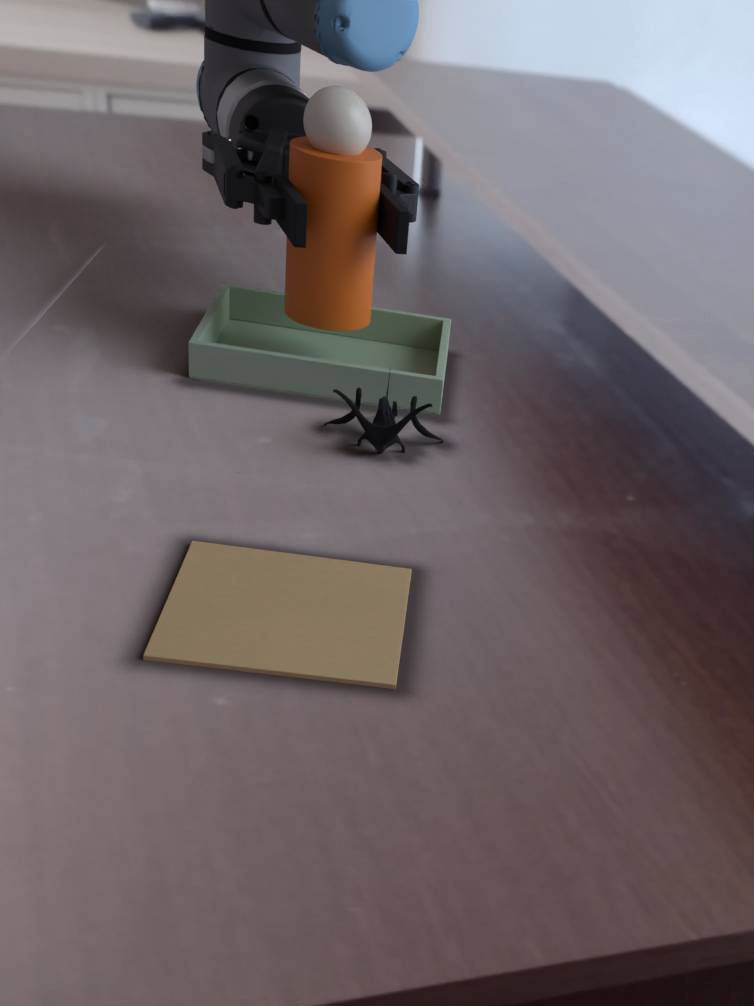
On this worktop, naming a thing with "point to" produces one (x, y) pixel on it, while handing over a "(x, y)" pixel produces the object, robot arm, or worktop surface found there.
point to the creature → (383, 421)
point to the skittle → (334, 214)
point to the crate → (320, 351)
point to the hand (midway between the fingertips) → (352, 229)
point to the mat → (284, 616)
